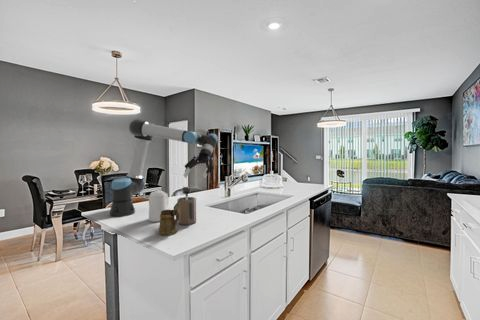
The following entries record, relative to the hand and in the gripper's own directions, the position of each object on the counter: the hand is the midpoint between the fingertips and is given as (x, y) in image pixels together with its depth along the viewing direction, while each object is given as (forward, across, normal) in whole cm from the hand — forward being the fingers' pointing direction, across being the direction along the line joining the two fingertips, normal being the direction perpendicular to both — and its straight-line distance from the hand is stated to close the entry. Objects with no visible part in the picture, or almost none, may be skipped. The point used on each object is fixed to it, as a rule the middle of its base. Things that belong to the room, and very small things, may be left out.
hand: (194, 177), depth 142 cm
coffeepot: (+25, -20, +11) cm, 34 cm away
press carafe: (+25, +1, +12) cm, 27 cm away
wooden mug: (+37, +3, 0) cm, 37 cm away
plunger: (+23, 0, +10) cm, 25 cm away
